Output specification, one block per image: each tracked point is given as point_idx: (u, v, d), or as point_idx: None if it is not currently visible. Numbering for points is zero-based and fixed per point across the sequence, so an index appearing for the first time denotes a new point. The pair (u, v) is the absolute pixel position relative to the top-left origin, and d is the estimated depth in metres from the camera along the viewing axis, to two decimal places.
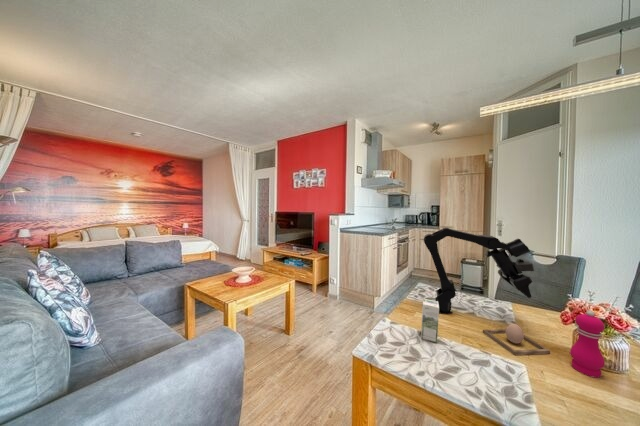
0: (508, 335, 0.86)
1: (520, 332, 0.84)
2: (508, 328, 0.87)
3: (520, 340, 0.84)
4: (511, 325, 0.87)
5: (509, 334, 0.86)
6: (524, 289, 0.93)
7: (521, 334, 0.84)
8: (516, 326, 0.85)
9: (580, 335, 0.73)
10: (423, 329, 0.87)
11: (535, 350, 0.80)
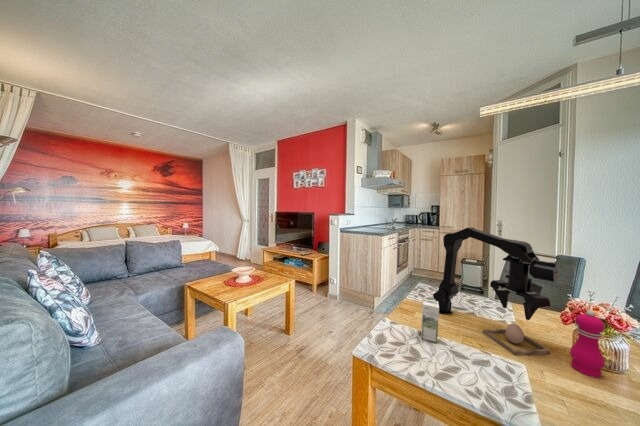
0: (508, 335, 0.86)
1: (520, 332, 0.84)
2: (508, 328, 0.87)
3: (520, 340, 0.84)
4: (511, 325, 0.87)
5: (509, 334, 0.86)
6: (531, 310, 0.80)
7: (521, 334, 0.84)
8: (516, 326, 0.85)
9: (580, 335, 0.73)
10: (423, 329, 0.87)
11: (535, 350, 0.80)
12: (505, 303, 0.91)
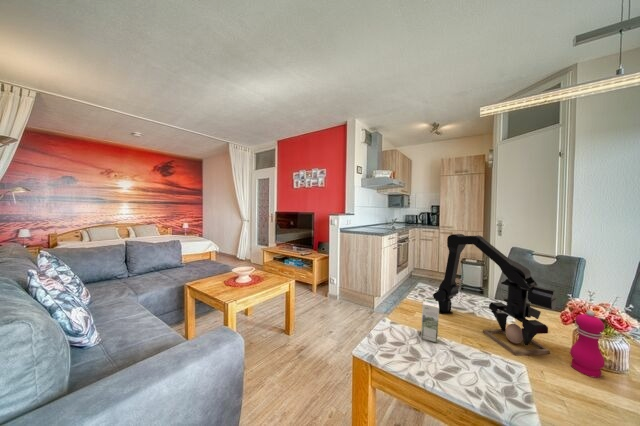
0: (508, 335, 0.86)
1: (520, 332, 0.84)
2: (508, 328, 0.87)
3: (520, 340, 0.84)
4: (511, 325, 0.87)
5: (509, 334, 0.86)
6: (529, 336, 0.81)
7: (521, 334, 0.84)
8: (516, 326, 0.85)
9: (580, 335, 0.73)
10: (423, 329, 0.87)
11: (535, 350, 0.80)
12: (504, 326, 0.91)
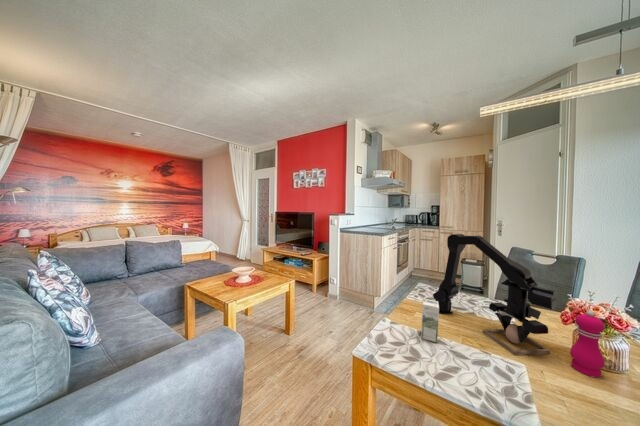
0: (508, 335, 0.86)
1: None
2: (508, 328, 0.87)
3: None
4: (511, 325, 0.87)
5: (509, 334, 0.86)
6: (524, 333, 0.82)
7: None
8: (516, 326, 0.85)
9: (580, 335, 0.73)
10: (423, 329, 0.87)
11: (535, 350, 0.80)
12: None
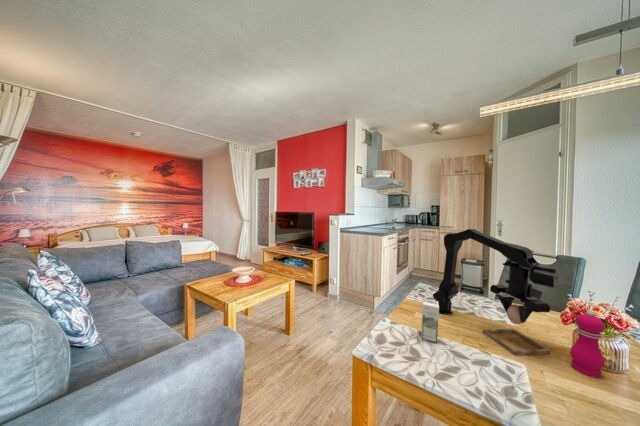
0: (509, 316, 0.86)
1: None
2: (509, 309, 0.86)
3: None
4: (512, 305, 0.86)
5: (510, 314, 0.86)
6: (526, 313, 0.82)
7: None
8: (517, 306, 0.85)
9: (580, 335, 0.73)
10: (423, 329, 0.87)
11: (535, 350, 0.80)
12: None
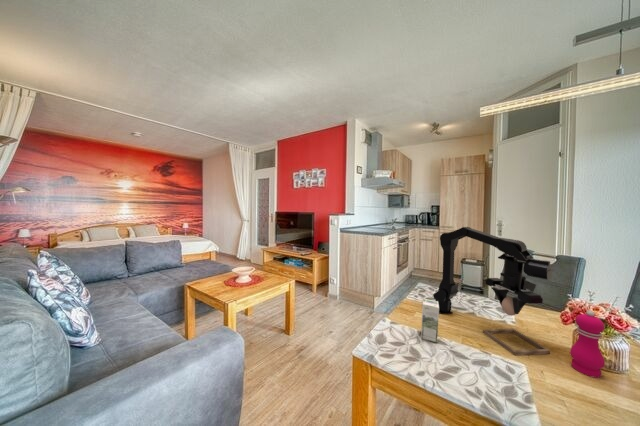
0: (504, 307, 0.88)
1: None
2: (504, 301, 0.89)
3: None
4: (507, 297, 0.89)
5: (504, 306, 0.88)
6: (519, 304, 0.84)
7: None
8: None
9: (580, 335, 0.73)
10: (423, 329, 0.87)
11: (535, 350, 0.80)
12: None
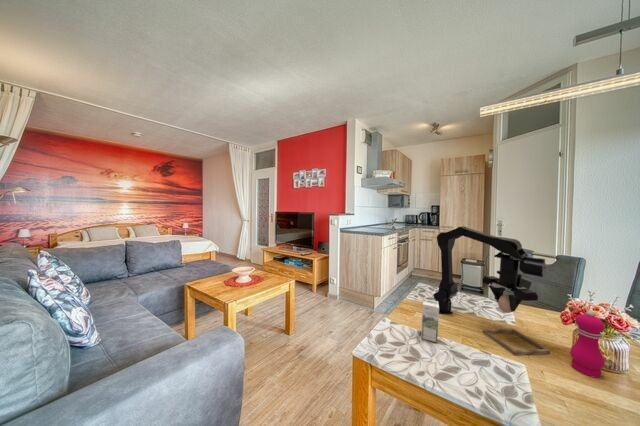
0: (500, 305, 0.90)
1: None
2: (500, 298, 0.90)
3: None
4: (503, 295, 0.90)
5: (501, 304, 0.89)
6: (515, 302, 0.86)
7: None
8: (508, 296, 0.89)
9: (580, 335, 0.73)
10: (423, 329, 0.87)
11: (535, 350, 0.80)
12: None
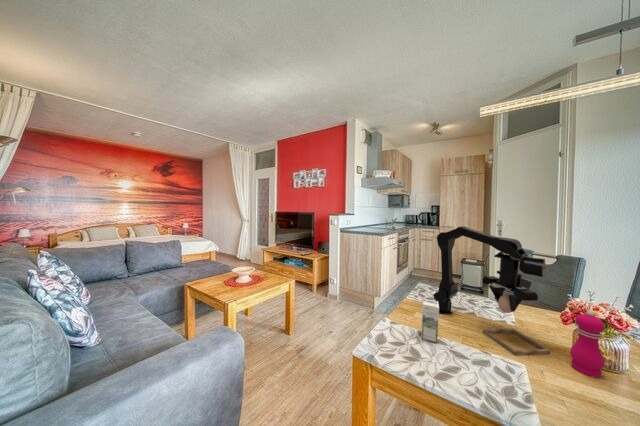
0: (500, 305, 0.90)
1: None
2: (500, 298, 0.90)
3: None
4: (503, 295, 0.90)
5: (501, 304, 0.89)
6: (515, 302, 0.86)
7: None
8: (508, 296, 0.89)
9: (580, 335, 0.73)
10: (423, 329, 0.87)
11: (535, 350, 0.80)
12: None
